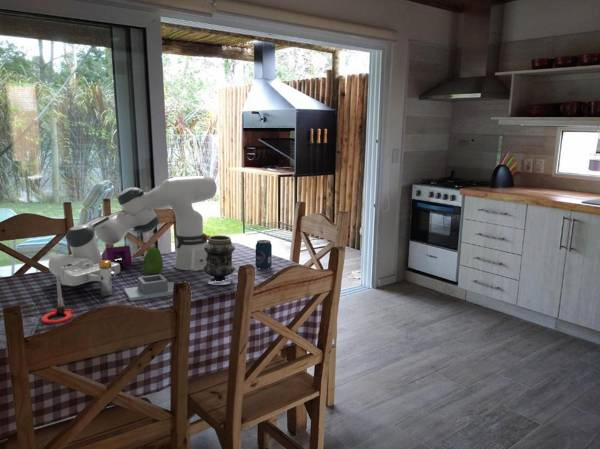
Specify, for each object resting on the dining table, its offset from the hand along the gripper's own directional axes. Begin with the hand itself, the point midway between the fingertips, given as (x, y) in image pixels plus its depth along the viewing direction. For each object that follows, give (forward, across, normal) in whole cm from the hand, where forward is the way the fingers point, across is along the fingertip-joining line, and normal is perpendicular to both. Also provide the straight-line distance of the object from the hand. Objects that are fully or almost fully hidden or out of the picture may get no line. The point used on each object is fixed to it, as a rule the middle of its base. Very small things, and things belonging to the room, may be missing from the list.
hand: (107, 276), depth 172 cm
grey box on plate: (+11, -10, -7) cm, 17 cm away
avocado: (-4, -25, -7) cm, 26 cm away
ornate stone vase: (+23, -34, -7) cm, 41 cm away
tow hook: (+4, +23, -7) cm, 24 cm away
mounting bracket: (-30, -28, -7) cm, 42 cm away
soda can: (+26, -59, -7) cm, 65 cm away
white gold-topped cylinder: (-1, 0, -7) cm, 7 cm away
